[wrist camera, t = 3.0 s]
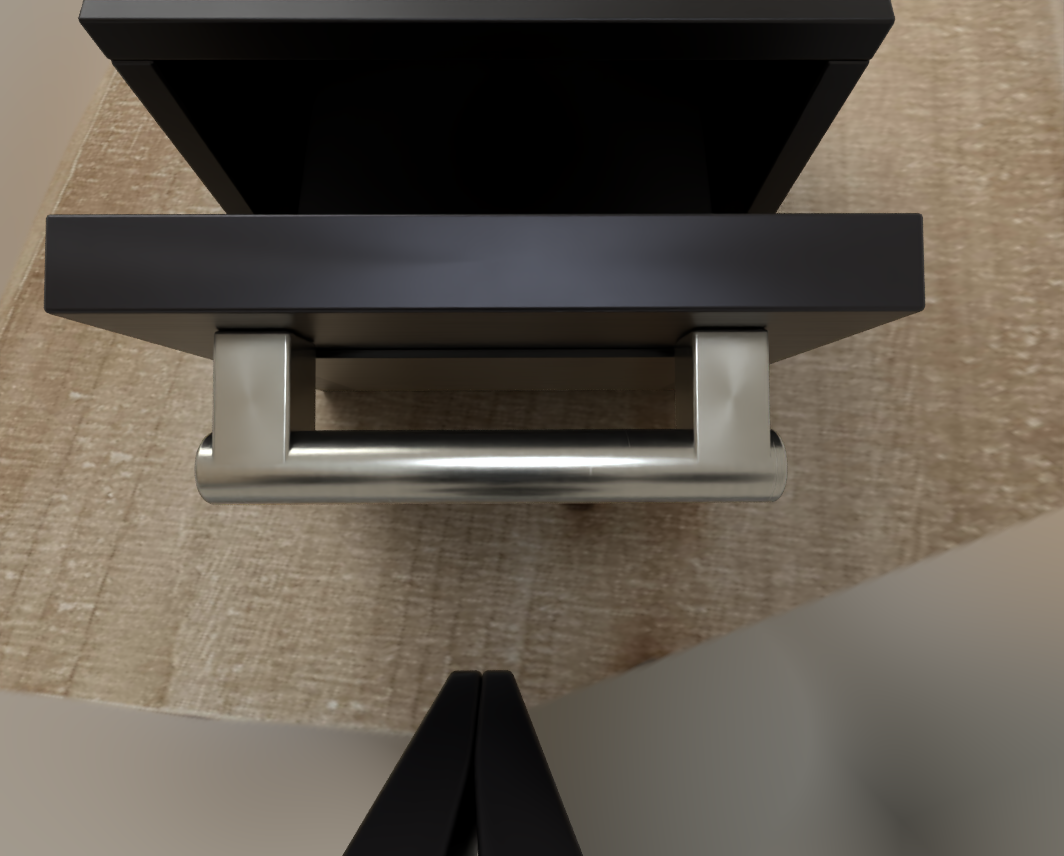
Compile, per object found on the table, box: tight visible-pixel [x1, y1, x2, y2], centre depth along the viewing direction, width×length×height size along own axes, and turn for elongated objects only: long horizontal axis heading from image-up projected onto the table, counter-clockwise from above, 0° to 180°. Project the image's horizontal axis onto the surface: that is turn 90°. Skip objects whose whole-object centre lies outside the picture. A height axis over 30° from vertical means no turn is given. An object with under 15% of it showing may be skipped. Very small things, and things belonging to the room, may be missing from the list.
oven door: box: [44, 213, 925, 505], centre depth 16 cm, size 5×14×13 cm, turn 90°
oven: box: [78, 0, 895, 214], centre depth 18 cm, size 15×14×13 cm
